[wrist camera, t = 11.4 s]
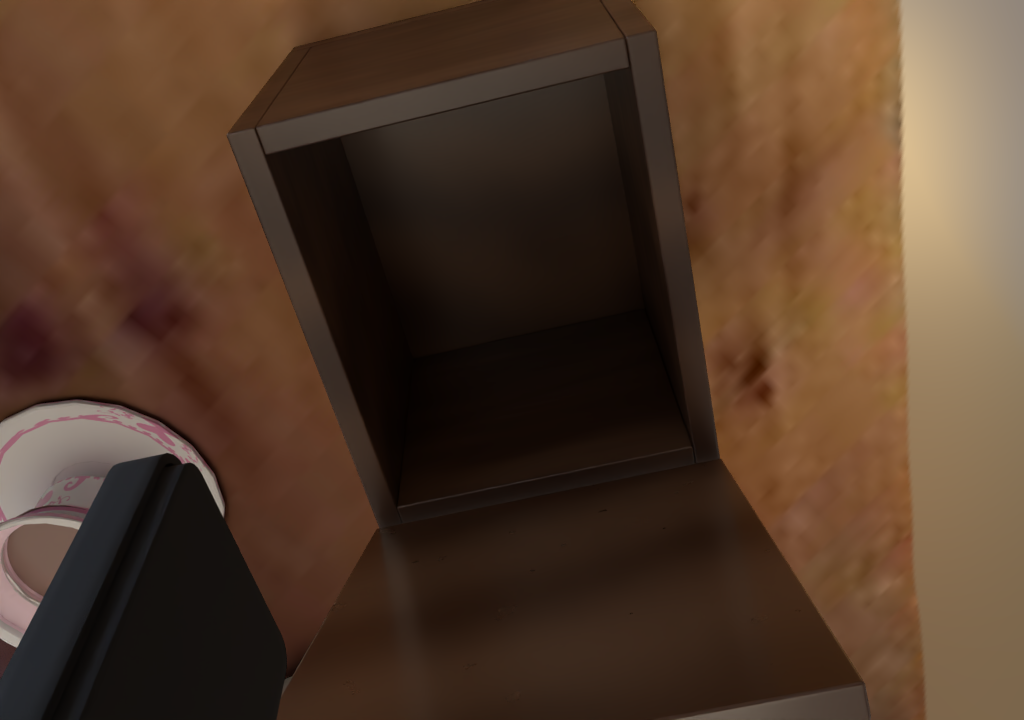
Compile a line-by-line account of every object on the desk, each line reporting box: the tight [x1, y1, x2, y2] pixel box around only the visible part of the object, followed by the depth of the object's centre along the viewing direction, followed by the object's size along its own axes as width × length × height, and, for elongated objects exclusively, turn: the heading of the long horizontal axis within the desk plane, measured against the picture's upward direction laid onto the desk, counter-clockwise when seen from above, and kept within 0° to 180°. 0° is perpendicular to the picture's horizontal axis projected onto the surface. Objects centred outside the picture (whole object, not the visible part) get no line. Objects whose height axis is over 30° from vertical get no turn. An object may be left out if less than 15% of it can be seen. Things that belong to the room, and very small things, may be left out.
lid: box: [276, 459, 871, 720], centre depth 26 cm, size 16×12×5 cm
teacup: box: [0, 399, 225, 647], centre depth 44 cm, size 12×12×6 cm
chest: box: [227, 0, 720, 528], centre depth 35 cm, size 15×12×11 cm
